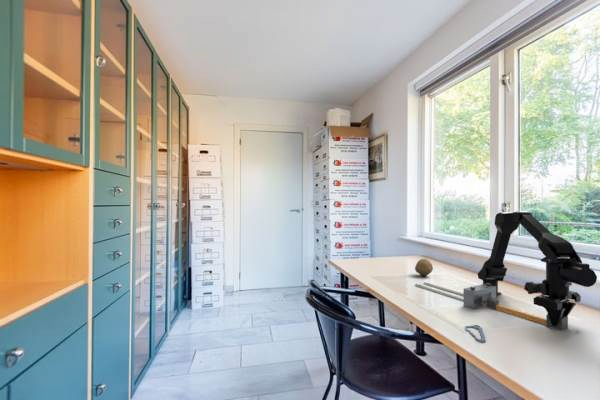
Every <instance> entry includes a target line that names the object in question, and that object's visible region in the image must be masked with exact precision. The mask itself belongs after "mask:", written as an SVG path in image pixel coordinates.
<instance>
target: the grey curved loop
mask: <svg viewBox="0 0 600 400" xmlns="http://www.w3.org/2000/svg"><path fill="white" fill-rule="evenodd" d="M464 329H465V331H466V332H468V333H469V335H471V337H473V338H474V340H475V341H476V342H479V343H486V335H485V333H484V331H483V327H481V325H478V324H473V325H465V326H464ZM471 329H475V330H478V331H479V333H480V336H481V339H480V338H478V336H476V334H474V332H472V331H471Z"/></svg>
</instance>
